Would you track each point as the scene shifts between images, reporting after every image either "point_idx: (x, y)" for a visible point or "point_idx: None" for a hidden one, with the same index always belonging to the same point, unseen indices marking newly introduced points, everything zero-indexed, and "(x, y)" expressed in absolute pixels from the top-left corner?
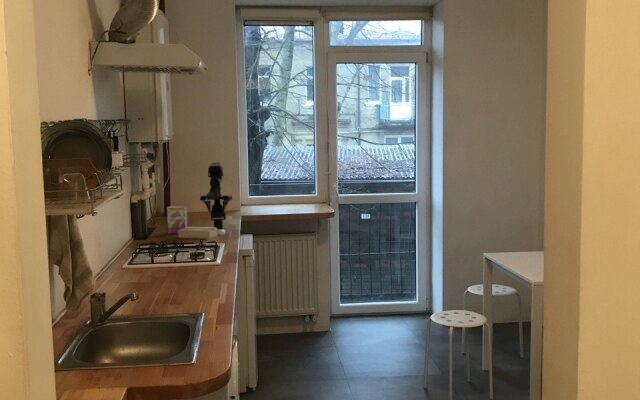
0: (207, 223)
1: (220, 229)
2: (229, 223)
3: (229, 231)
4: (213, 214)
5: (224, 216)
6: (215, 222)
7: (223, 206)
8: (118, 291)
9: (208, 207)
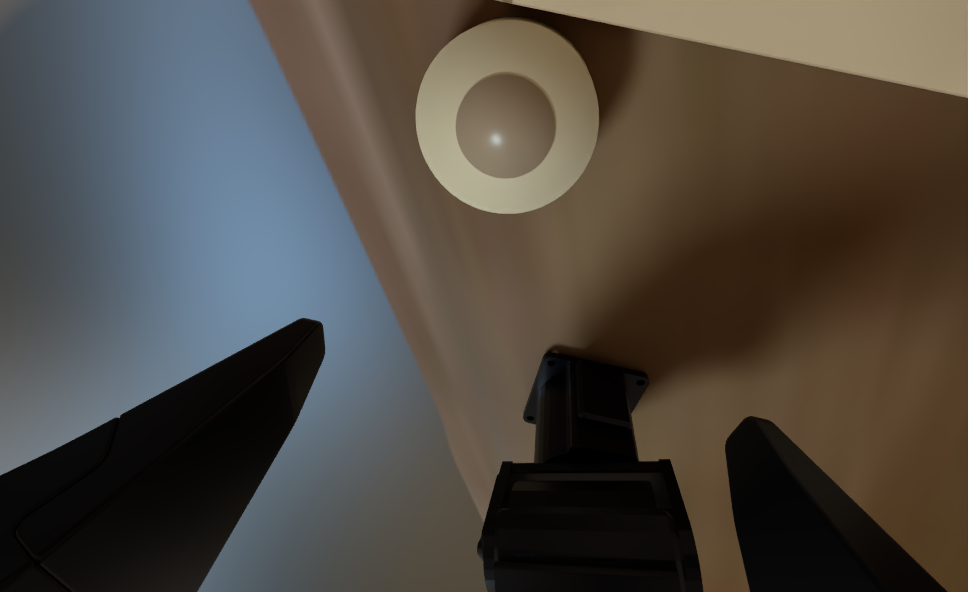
0: None
1: (501, 195)
2: None
3: (441, 293)
4: (644, 513)
5: (495, 496)
6: (610, 431)
7: (131, 446)
8: None
9: (872, 563)
